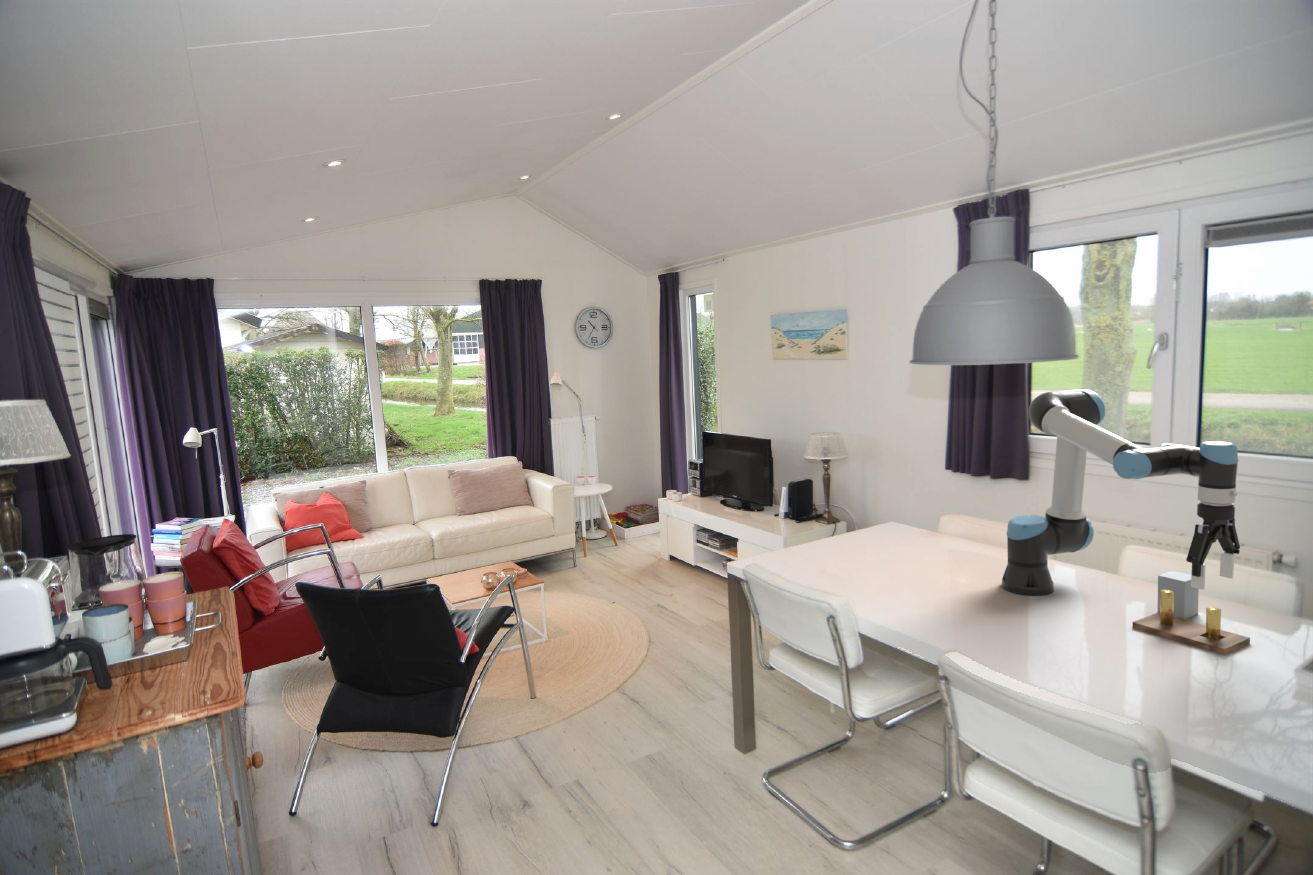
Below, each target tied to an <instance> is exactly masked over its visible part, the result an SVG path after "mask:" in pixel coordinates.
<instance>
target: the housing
mask: <svg viewBox="0 0 1313 875" xmlns="http://www.w3.org/2000/svg"><path fill="white" fill-rule="evenodd" d="M1161 590H1170V591H1173V592H1174V617H1176V618H1180V619H1183V620H1186V619H1189V618H1191V617H1194V616H1197V615H1199V590H1200V589H1198V588H1194V587H1191V574H1189V573H1188V574H1187V573H1183V572H1180V571H1175V570H1169V571H1167V572H1164V573H1161V574H1158V575H1157V613H1160V591H1161Z"/></svg>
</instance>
